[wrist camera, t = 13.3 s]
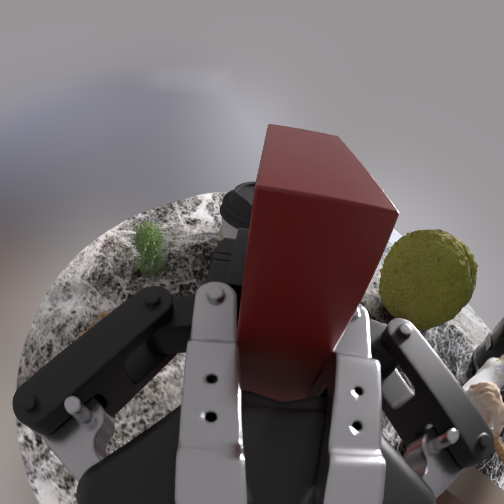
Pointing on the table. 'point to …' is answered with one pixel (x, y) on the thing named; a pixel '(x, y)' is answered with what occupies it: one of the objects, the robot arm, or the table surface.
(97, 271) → the table surface
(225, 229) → the coffee cup
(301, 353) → the red rectangular block
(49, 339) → the table surface
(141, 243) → the fuzzy green cactus
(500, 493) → the two-tone step block
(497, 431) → the unicorn figurine
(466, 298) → the fruit
